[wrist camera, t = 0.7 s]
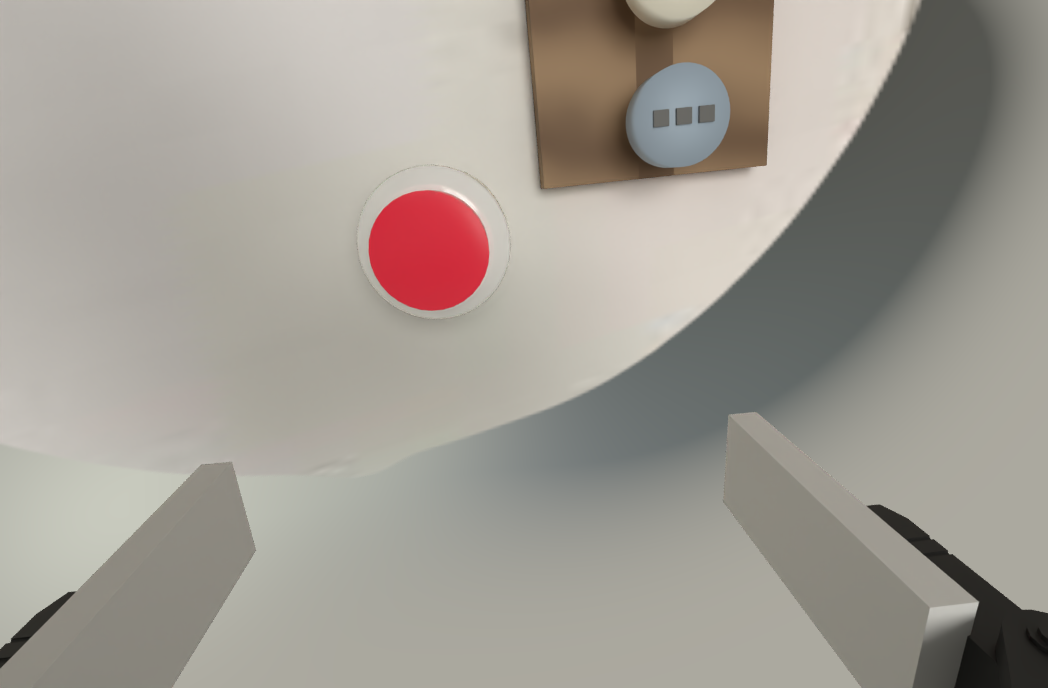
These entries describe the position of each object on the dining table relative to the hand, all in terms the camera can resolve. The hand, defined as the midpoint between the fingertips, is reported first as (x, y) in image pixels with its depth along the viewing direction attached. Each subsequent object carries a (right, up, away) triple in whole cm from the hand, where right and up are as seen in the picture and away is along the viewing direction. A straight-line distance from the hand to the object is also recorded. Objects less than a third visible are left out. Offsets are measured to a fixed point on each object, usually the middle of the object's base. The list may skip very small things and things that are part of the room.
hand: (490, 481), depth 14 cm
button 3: (+9, +17, +17) cm, 25 cm away
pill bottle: (-4, +11, +20) cm, 24 cm away
